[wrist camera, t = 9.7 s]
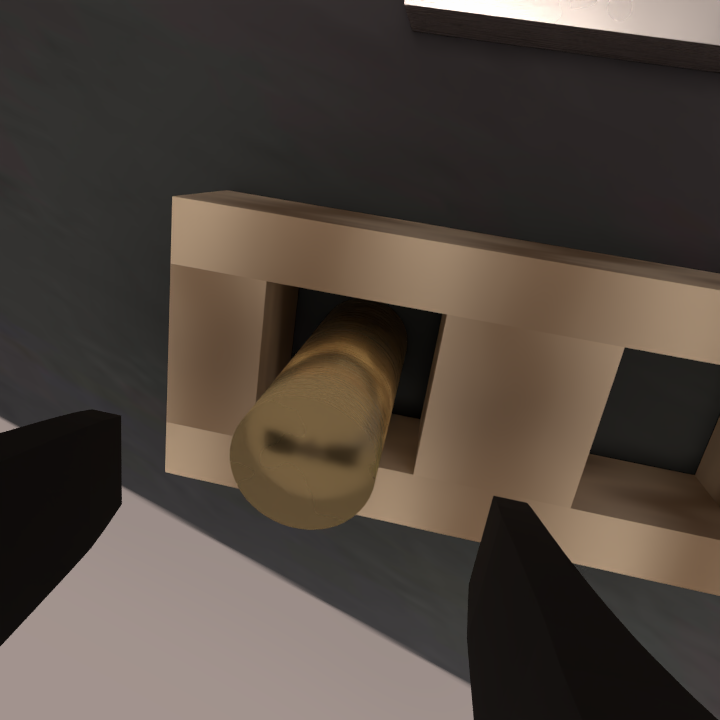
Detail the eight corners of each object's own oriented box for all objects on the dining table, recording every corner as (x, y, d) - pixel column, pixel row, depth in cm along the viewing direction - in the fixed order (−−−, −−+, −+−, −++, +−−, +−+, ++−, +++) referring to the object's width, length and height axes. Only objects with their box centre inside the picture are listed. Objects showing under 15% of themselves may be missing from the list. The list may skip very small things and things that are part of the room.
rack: (874, 299, 17) (992, 337, 13) (758, 536, 20) (827, 619, 16) (227, 190, 19) (172, 196, 15) (213, 420, 22) (165, 471, 19)
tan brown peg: (415, 307, 19) (388, 415, 11) (398, 388, 21) (363, 543, 12) (326, 289, 20) (235, 382, 11) (315, 371, 21) (224, 511, 12)
